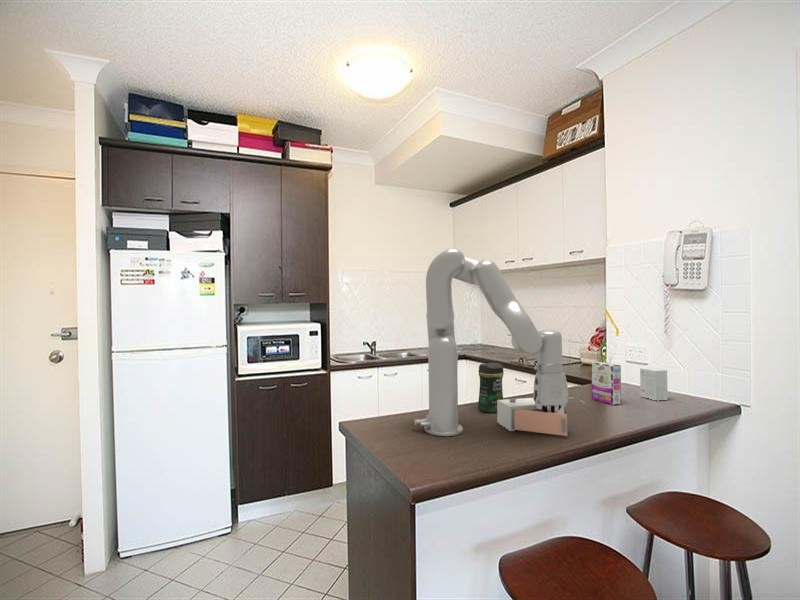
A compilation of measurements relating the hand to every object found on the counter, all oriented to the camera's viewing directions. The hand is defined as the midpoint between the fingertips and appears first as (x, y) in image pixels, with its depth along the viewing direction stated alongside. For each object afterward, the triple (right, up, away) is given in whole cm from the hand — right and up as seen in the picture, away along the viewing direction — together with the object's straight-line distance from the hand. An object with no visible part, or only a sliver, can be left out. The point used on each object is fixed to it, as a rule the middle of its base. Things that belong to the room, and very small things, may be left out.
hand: (550, 425), depth 123 cm
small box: (+62, -3, +44) cm, 76 cm away
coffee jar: (-13, -3, +27) cm, 30 cm away
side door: (-5, -2, -2) cm, 5 cm away
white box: (-3, -3, +8) cm, 9 cm away
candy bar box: (+39, -3, +39) cm, 55 cm away
